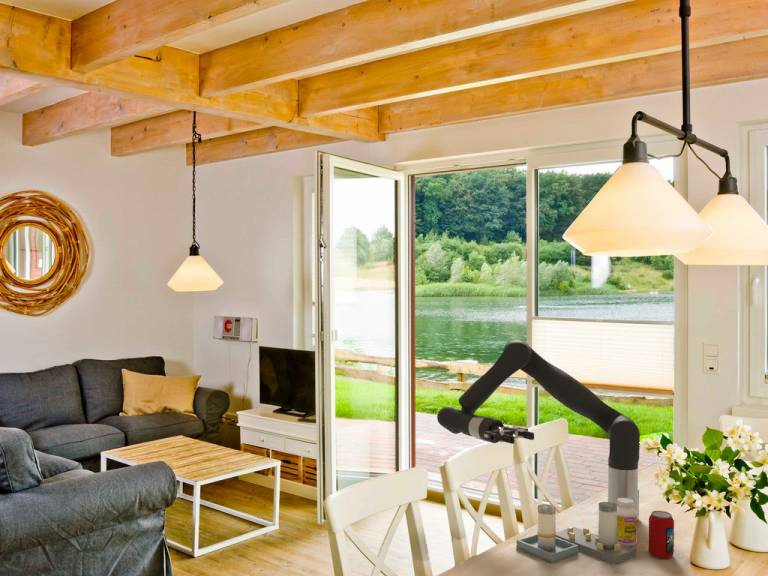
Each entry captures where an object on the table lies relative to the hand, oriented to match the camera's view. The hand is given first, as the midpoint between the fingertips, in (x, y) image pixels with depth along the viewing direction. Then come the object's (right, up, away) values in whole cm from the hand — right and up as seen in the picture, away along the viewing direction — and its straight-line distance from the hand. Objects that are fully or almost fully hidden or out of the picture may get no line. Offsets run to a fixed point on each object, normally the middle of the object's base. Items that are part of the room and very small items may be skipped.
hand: (523, 438), depth 221 cm
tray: (+5, -30, -11) cm, 32 cm away
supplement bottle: (+29, -30, -4) cm, 42 cm away
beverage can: (+36, -31, -13) cm, 49 cm away
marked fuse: (+4, -29, -11) cm, 32 cm away
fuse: (+22, -28, -12) cm, 38 cm away
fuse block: (+19, -30, -8) cm, 36 cm away
